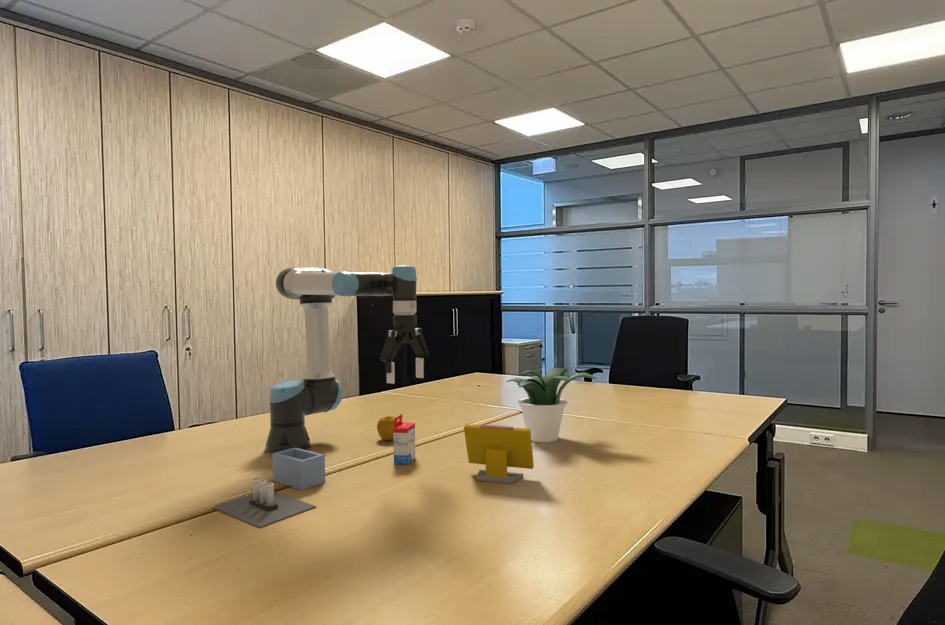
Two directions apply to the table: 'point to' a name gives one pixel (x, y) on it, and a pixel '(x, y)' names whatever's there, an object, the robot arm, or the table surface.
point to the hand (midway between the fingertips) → (405, 380)
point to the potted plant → (544, 403)
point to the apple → (386, 427)
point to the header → (263, 506)
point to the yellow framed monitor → (499, 451)
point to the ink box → (403, 441)
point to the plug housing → (299, 468)
